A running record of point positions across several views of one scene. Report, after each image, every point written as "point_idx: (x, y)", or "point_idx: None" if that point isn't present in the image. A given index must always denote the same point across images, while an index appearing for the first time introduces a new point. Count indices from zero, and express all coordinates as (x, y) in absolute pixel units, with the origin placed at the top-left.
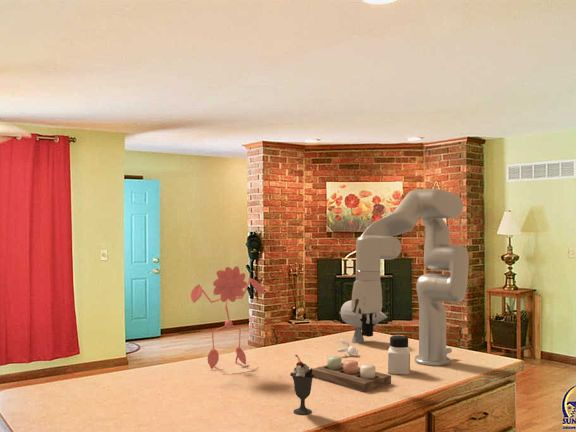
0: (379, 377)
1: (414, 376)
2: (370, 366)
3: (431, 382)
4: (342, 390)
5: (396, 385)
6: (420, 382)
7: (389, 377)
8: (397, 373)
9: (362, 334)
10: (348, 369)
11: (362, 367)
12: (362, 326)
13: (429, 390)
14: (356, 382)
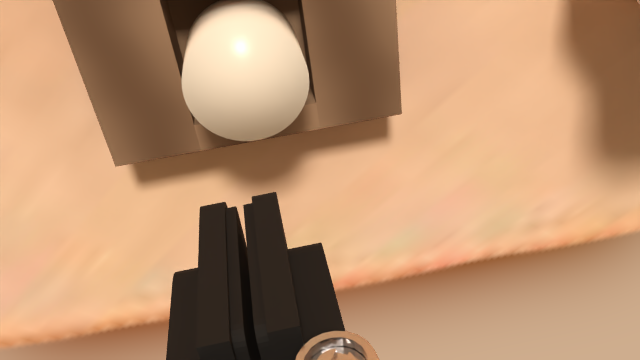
0: (301, 111)
1: (628, 45)
2: (263, 98)
3: (577, 176)
4: (3, 37)
5: (388, 128)
6: (538, 150)
7: (381, 113)
8: None
9: (203, 217)
10: None
11: (183, 89)
12: (167, 343)
13: (449, 259)
14: (94, 101)
